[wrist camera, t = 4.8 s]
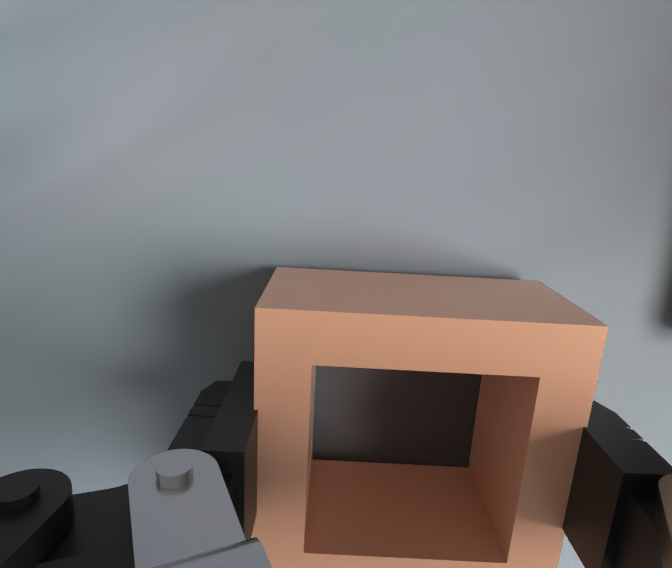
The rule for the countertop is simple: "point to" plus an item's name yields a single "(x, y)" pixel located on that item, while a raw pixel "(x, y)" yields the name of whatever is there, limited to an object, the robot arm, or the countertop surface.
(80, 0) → the countertop surface
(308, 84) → the countertop surface
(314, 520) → the ring
